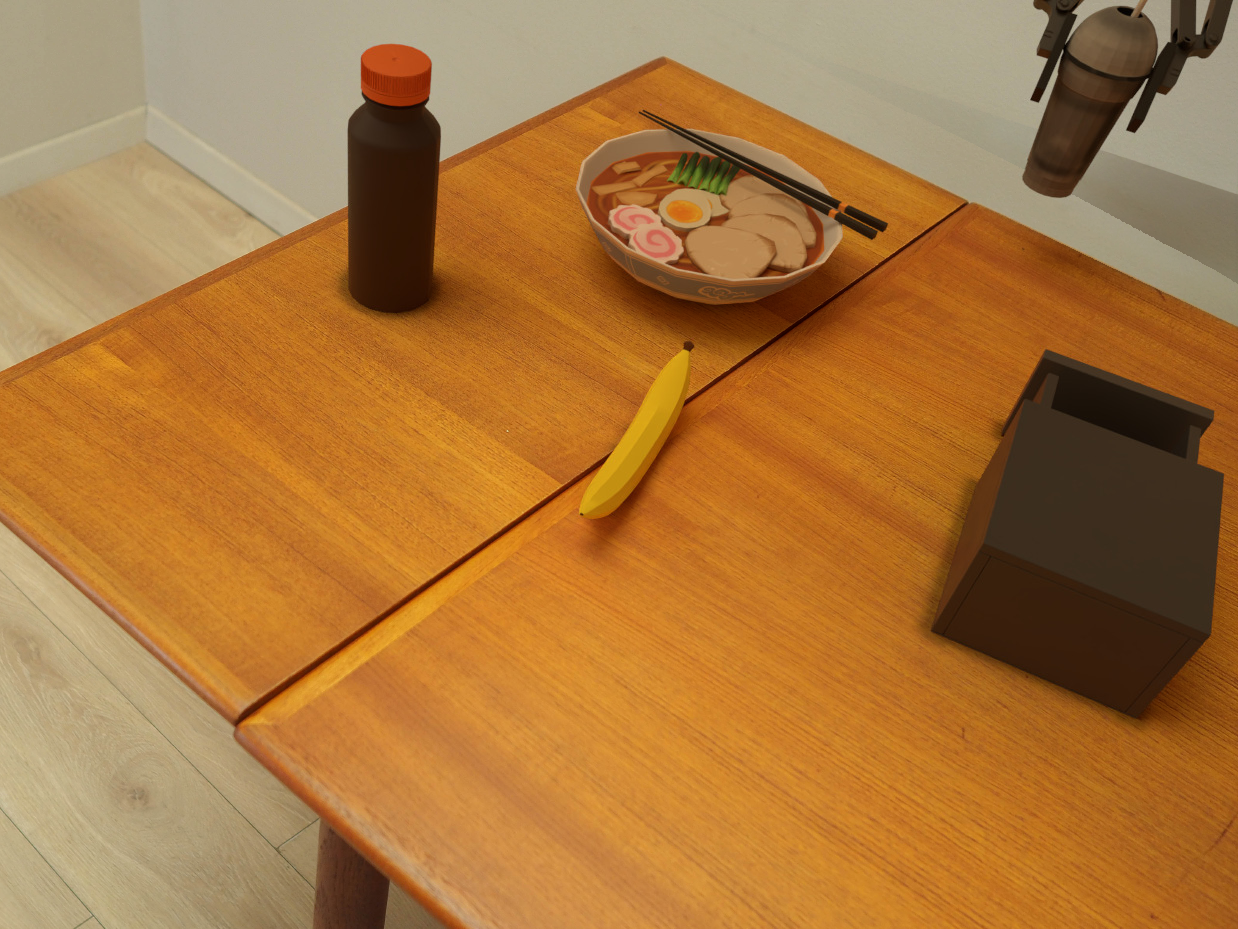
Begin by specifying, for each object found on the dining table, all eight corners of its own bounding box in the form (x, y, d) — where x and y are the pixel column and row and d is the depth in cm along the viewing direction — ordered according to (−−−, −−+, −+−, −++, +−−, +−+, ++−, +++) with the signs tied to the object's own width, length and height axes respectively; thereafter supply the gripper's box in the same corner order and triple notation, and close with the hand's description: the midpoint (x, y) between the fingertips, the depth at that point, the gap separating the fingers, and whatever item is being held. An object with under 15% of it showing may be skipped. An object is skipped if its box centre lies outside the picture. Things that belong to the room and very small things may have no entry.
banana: (551, 555, 78) (563, 490, 74) (656, 397, 91) (672, 333, 86) (590, 572, 78) (605, 508, 73) (690, 411, 90) (708, 347, 85)
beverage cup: (1062, 161, 107) (1172, -65, 92) (1103, 206, 102) (1226, -26, 88) (992, 162, 105) (1093, -69, 91) (1031, 207, 100) (1143, -29, 86)
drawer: (1012, 395, 95) (1053, 319, 89) (1165, 453, 92) (1218, 378, 87) (967, 542, 83) (1012, 464, 77) (1142, 613, 80) (1202, 539, 75)
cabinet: (971, 493, 88) (1024, 398, 81) (1153, 565, 85) (1224, 473, 78) (926, 637, 78) (983, 542, 71) (1131, 725, 75) (1211, 635, 68)
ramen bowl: (500, 253, 101) (510, 169, 95) (659, 167, 114) (676, 89, 108) (732, 400, 92) (759, 317, 86) (876, 288, 105) (908, 209, 99)
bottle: (330, 290, 95) (326, 53, 80) (391, 259, 99) (397, 28, 84) (389, 331, 92) (395, 94, 78) (448, 297, 96) (465, 65, 81)
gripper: (1311, -96, 96) (1196, 165, 97) (1067, -161, 100) (959, 90, 101) (1353, -151, 88) (1227, 133, 89) (1087, -218, 93) (971, 53, 94)
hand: (1085, 110), depth 95 cm, fingers closed on beverage cup, 7 cm apart
